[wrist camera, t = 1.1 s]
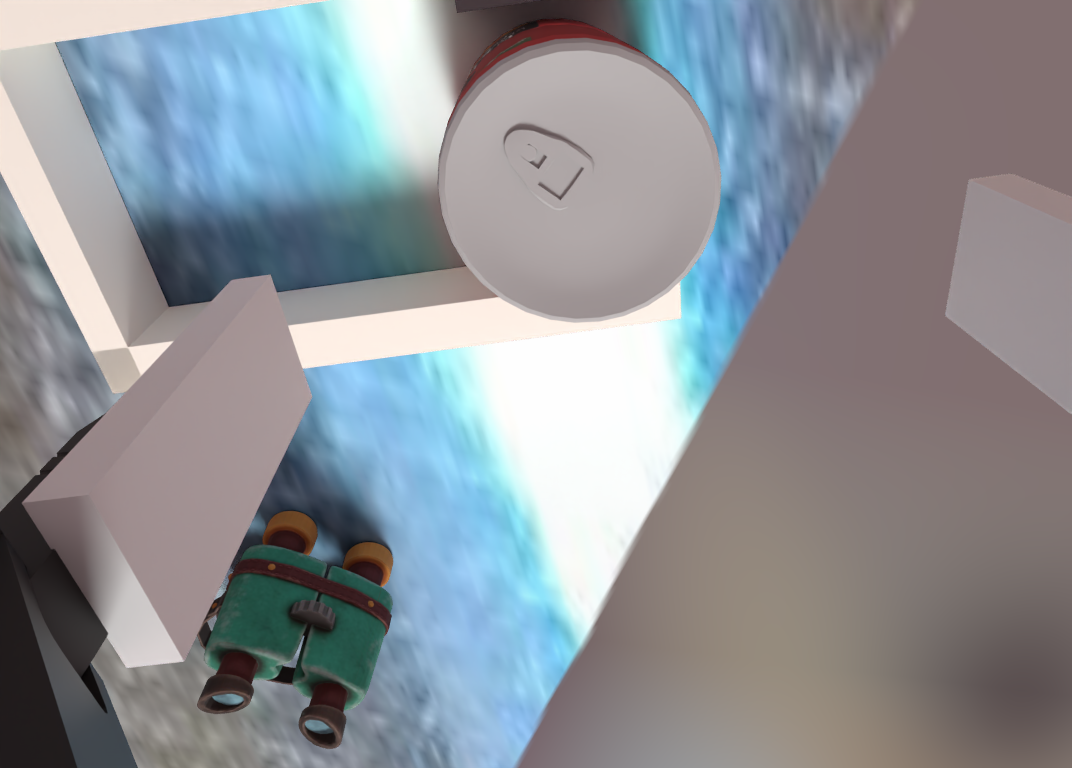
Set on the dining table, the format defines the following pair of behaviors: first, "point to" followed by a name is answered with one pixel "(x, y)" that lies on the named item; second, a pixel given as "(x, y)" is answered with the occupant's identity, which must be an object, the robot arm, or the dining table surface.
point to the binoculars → (299, 626)
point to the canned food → (576, 174)
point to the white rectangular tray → (120, 260)
